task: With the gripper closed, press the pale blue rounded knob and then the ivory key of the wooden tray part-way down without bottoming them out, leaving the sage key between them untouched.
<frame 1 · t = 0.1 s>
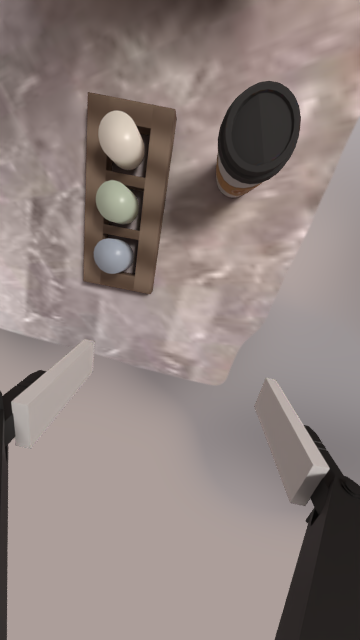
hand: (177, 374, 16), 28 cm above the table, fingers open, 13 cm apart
coffee cup: (234, 177, 35), on the table
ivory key: (122, 143, 30), point 5 cm above the table, slide at 0.0 cm
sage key: (118, 204, 33), point 5 cm above the table, slide at 0.0 cm
pale blue rounded knob: (114, 256, 36), point 5 cm above the table, slide at 0.0 cm
wooden tray: (127, 209, 38), on the table
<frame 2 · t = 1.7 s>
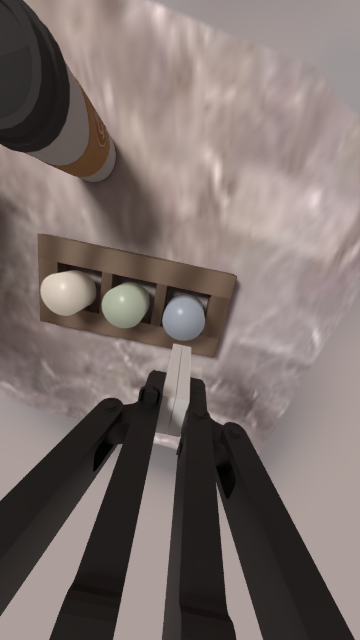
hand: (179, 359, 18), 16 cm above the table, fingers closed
coffee cup: (94, 155, 27), on the table
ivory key: (70, 292, 29), point 5 cm above the table, slide at 0.0 cm
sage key: (127, 304, 29), point 5 cm above the table, slide at 0.0 cm
pale blue rounded knob: (184, 316, 29), point 5 cm above the table, slide at 0.0 cm
wooden tray: (136, 296, 33), on the table
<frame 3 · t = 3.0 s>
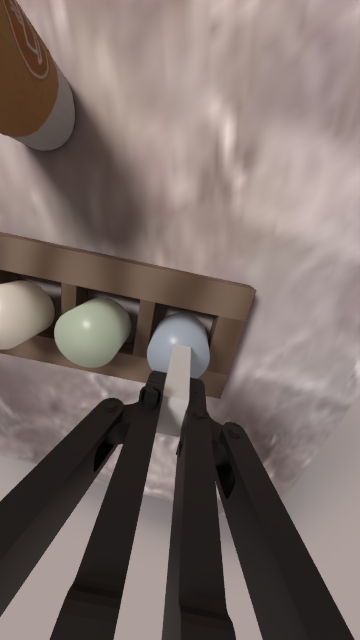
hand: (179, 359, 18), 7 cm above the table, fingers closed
coffee cup: (44, 110, 18), on the table
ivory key: (12, 313, 20), point 5 cm above the table, slide at 0.0 cm
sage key: (96, 330, 20), point 5 cm above the table, slide at 0.0 cm
pale blue rounded knob: (179, 346, 20), point 4 cm above the table, slide at 0.4 cm, touching gripper
wooden tray: (114, 314, 24), on the table
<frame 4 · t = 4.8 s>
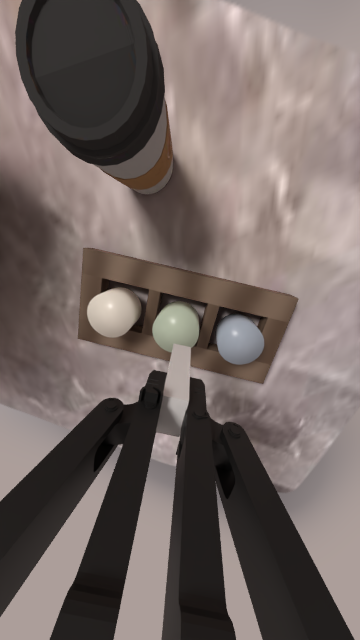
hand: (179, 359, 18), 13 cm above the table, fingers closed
coffee cup: (148, 166, 25), on the table
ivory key: (116, 311, 26), point 5 cm above the table, slide at 0.0 cm
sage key: (177, 326, 26), point 5 cm above the table, slide at 0.0 cm
pale blue rounded knob: (237, 337, 27), point 4 cm above the table, slide at 1.0 cm
wooden tray: (180, 314, 31), on the table
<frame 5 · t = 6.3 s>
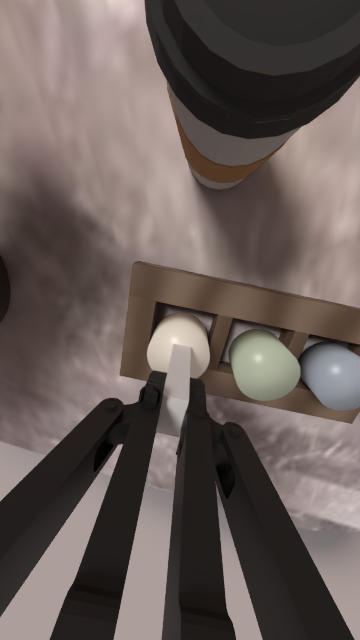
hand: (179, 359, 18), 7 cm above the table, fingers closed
coffee cup: (221, 151, 19), on the table
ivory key: (179, 346, 20), point 5 cm above the table, slide at 0.0 cm, touching gripper
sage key: (260, 363, 20), point 5 cm above the table, slide at 0.0 cm
pale blue rounded knob: (334, 374, 21), point 4 cm above the table, slide at 1.0 cm
wooden tray: (248, 341, 25), on the table
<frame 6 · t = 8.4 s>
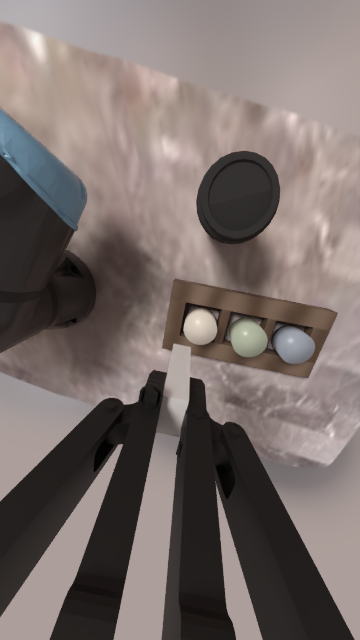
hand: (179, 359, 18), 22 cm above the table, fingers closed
coffee cup: (222, 219, 34), on the table
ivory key: (200, 325, 36), point 4 cm above the table, slide at 1.0 cm
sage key: (247, 336, 35), point 5 cm above the table, slide at 0.0 cm
pale blue rounded knob: (291, 343, 36), point 4 cm above the table, slide at 1.0 cm
wooden tray: (241, 326, 40), on the table
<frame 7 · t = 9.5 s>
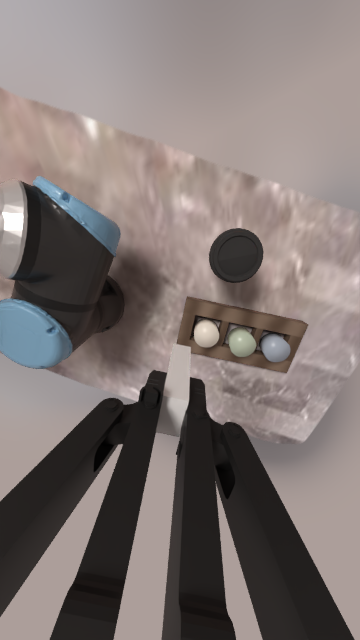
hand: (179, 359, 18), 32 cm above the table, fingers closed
coffee cup: (224, 253, 46), on the table
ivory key: (206, 332, 48), point 4 cm above the table, slide at 1.0 cm
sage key: (241, 341, 47), point 5 cm above the table, slide at 0.0 cm
pale blue rounded knob: (274, 347, 48), point 4 cm above the table, slide at 1.0 cm
wooden tray: (236, 333, 51), on the table
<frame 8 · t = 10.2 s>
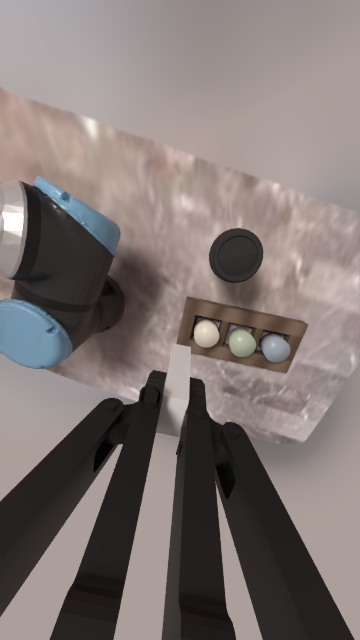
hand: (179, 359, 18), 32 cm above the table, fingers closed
coffee cup: (224, 253, 46), on the table
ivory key: (206, 332, 48), point 4 cm above the table, slide at 1.0 cm
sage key: (241, 341, 47), point 5 cm above the table, slide at 0.0 cm
pale blue rounded knob: (274, 347, 48), point 4 cm above the table, slide at 1.0 cm
wooden tray: (236, 333, 51), on the table
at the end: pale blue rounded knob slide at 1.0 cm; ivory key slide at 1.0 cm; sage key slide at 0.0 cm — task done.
